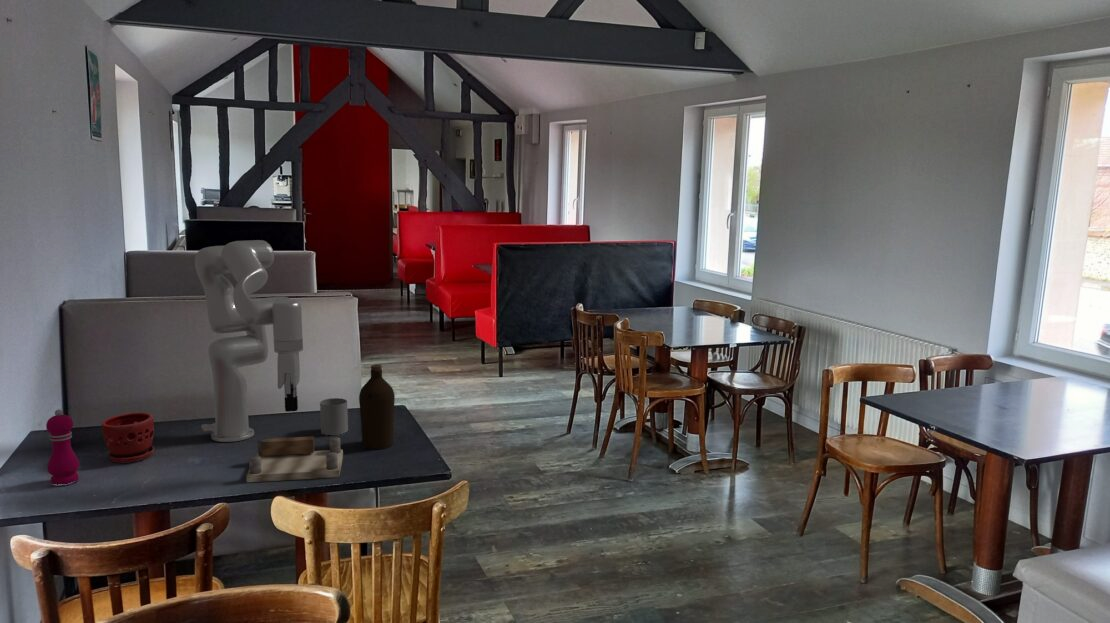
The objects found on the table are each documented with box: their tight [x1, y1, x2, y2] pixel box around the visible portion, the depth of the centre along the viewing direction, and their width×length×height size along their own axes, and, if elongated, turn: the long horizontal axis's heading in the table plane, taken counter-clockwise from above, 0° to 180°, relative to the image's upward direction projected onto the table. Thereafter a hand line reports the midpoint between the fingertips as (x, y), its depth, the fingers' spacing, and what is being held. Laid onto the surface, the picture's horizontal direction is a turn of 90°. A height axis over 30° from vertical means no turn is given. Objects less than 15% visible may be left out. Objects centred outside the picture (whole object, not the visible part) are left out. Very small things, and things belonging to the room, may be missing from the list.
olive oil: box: [358, 364, 396, 450], centre depth 240 cm, size 11×11×25 cm
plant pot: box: [101, 412, 155, 464], centre depth 226 cm, size 13×13×12 cm
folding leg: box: [257, 435, 315, 456], centre depth 225 cm, size 15×3×4 cm, turn 102°
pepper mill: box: [46, 408, 80, 485], centre depth 206 cm, size 7×7×20 cm
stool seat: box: [246, 436, 344, 483], centre depth 220 cm, size 24×17×6 cm
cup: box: [319, 397, 349, 436], centre depth 253 cm, size 8×8×10 cm
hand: (291, 410), depth 217 cm, fingers closed
